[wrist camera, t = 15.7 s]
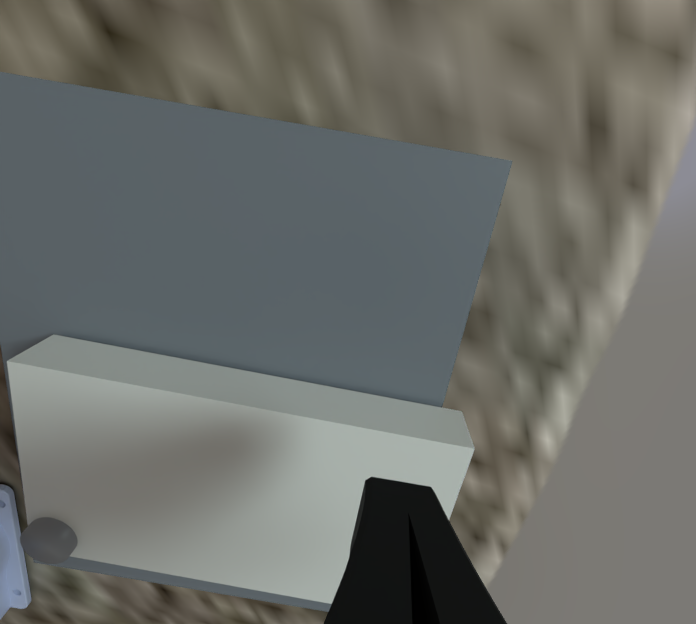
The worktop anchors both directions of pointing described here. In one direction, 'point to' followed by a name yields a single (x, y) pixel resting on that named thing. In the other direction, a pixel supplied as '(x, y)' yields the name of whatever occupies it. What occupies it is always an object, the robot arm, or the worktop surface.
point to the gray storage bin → (236, 247)
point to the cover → (211, 465)
